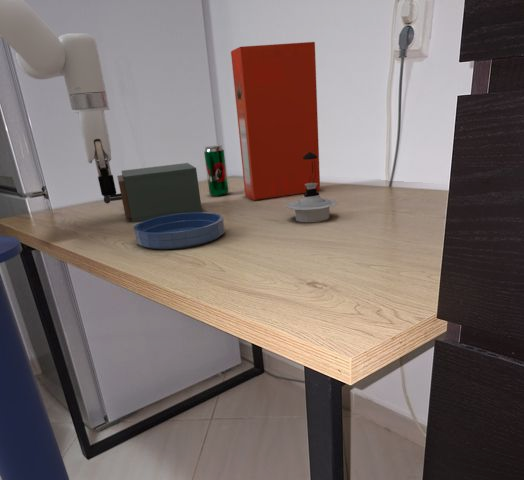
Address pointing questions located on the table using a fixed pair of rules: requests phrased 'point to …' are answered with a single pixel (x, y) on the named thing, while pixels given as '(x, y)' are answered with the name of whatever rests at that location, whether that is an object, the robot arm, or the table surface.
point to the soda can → (216, 170)
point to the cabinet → (162, 191)
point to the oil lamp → (311, 202)
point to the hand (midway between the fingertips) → (109, 194)
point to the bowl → (179, 230)
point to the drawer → (123, 197)
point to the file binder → (277, 117)
